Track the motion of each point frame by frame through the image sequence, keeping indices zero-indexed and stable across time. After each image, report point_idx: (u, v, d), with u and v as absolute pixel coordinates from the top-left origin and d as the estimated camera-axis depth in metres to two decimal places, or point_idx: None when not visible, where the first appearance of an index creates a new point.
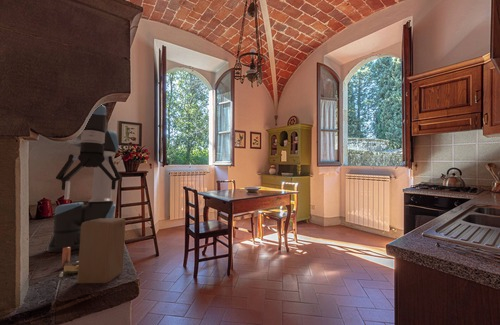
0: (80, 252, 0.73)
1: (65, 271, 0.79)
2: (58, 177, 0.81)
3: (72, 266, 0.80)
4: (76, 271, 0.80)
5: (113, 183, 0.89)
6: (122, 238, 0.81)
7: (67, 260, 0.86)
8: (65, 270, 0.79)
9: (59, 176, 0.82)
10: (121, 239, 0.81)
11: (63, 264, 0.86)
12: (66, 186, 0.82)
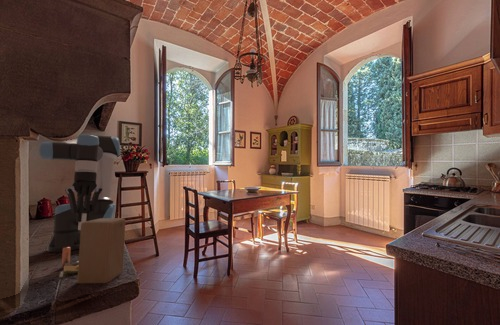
0: (80, 252, 0.73)
1: (65, 271, 0.79)
2: None
3: (72, 266, 0.80)
4: (76, 271, 0.80)
5: None
6: (122, 238, 0.81)
7: (67, 260, 0.86)
8: (65, 270, 0.79)
9: None
10: (121, 239, 0.81)
11: (63, 264, 0.86)
12: None
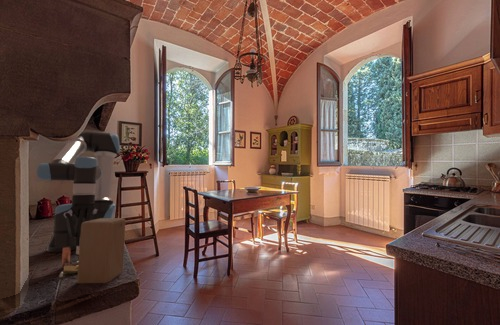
0: (80, 252, 0.73)
1: (65, 271, 0.79)
2: None
3: (72, 266, 0.80)
4: (76, 271, 0.80)
5: None
6: (122, 238, 0.81)
7: (67, 260, 0.86)
8: (65, 270, 0.79)
9: None
10: (121, 239, 0.81)
11: (63, 264, 0.86)
12: None
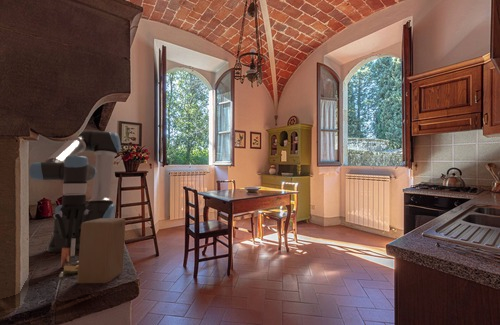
0: (80, 252, 0.73)
1: (65, 271, 0.79)
2: None
3: (72, 266, 0.80)
4: (76, 271, 0.80)
5: None
6: (122, 238, 0.81)
7: (66, 260, 0.86)
8: (65, 270, 0.79)
9: None
10: (121, 239, 0.81)
11: (62, 264, 0.85)
12: None
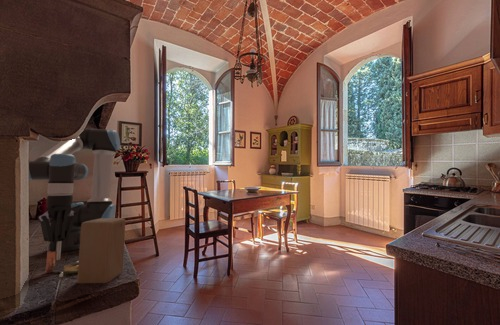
0: (80, 252, 0.73)
1: (71, 271, 0.79)
2: None
3: (77, 265, 0.81)
4: None
5: None
6: (122, 238, 0.81)
7: (54, 264, 0.82)
8: (71, 270, 0.79)
9: None
10: (121, 239, 0.81)
11: (50, 269, 0.81)
12: None
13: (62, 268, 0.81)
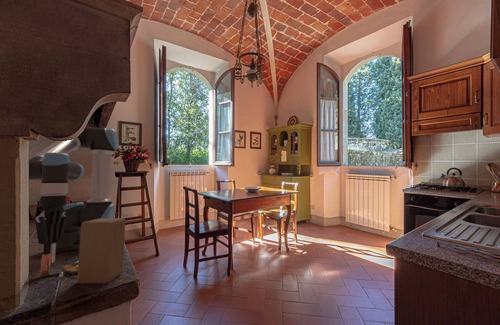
0: (80, 252, 0.73)
1: (77, 270, 0.80)
2: None
3: None
4: None
5: None
6: (122, 238, 0.81)
7: (49, 267, 0.79)
8: (77, 269, 0.80)
9: None
10: (121, 239, 0.81)
11: (47, 272, 0.78)
12: None
13: (61, 270, 0.80)
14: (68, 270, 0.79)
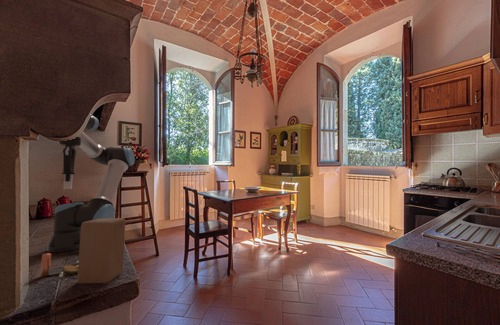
0: (80, 252, 0.73)
1: (76, 270, 0.80)
2: None
3: None
4: None
5: None
6: (122, 238, 0.81)
7: None
8: (76, 269, 0.80)
9: None
10: (121, 239, 0.81)
11: (47, 272, 0.78)
12: None
13: (61, 269, 0.80)
14: (68, 270, 0.79)
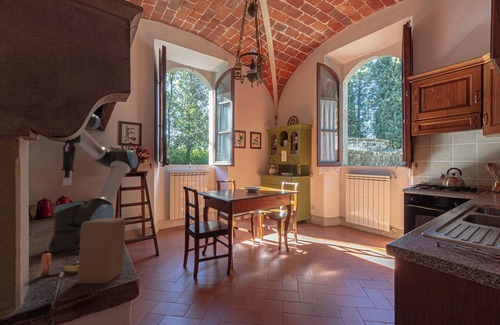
0: (80, 252, 0.73)
1: (76, 270, 0.80)
2: None
3: None
4: None
5: None
6: (122, 238, 0.81)
7: None
8: (76, 269, 0.80)
9: None
10: (121, 239, 0.81)
11: (47, 272, 0.78)
12: None
13: (61, 269, 0.80)
14: (68, 270, 0.79)
